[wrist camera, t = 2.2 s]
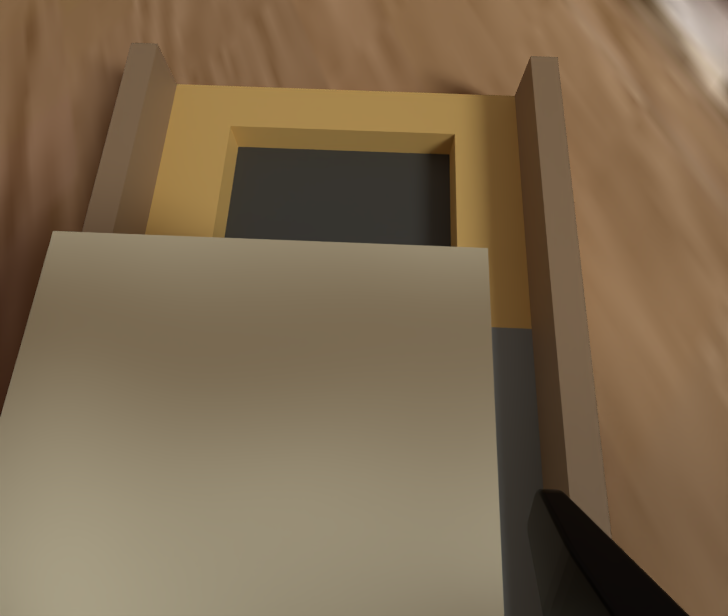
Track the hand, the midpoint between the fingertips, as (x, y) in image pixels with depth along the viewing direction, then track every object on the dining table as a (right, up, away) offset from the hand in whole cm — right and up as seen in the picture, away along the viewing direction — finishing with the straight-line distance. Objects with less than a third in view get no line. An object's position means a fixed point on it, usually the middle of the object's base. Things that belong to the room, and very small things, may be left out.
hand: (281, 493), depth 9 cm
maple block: (0, -2, +7) cm, 7 cm away
